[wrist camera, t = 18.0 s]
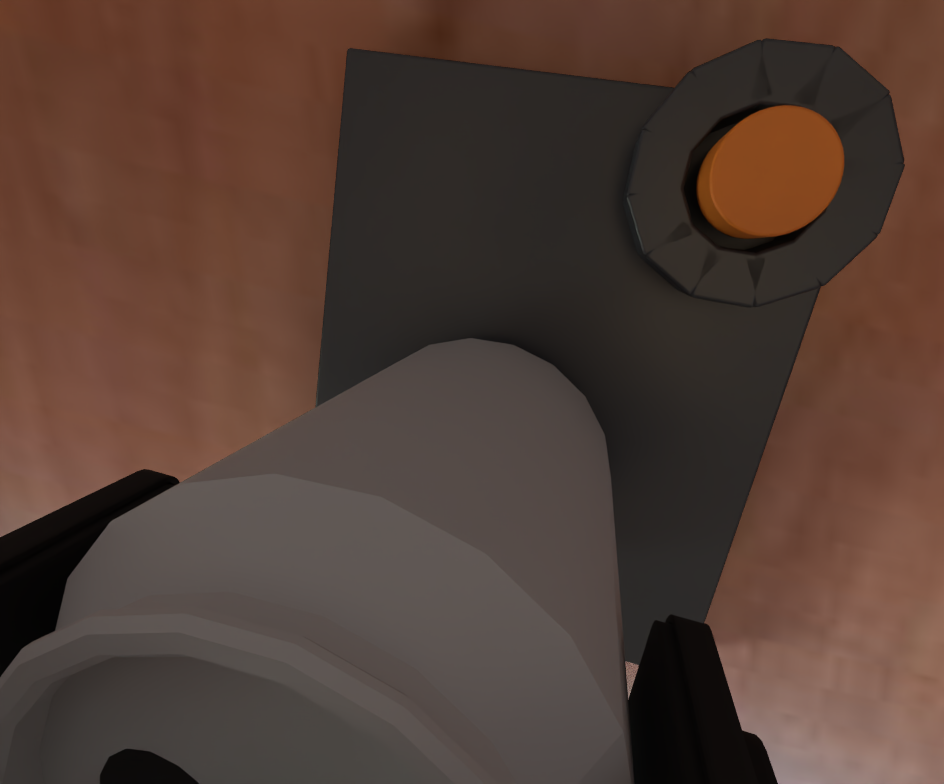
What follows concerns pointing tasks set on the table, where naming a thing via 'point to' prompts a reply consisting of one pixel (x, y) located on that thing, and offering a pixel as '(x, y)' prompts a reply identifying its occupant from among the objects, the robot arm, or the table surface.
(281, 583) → the can
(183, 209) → the table surface
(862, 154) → the scale
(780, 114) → the button
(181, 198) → the table surface
